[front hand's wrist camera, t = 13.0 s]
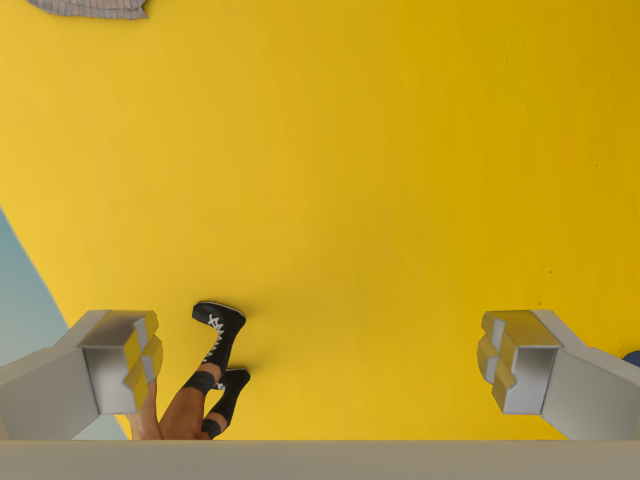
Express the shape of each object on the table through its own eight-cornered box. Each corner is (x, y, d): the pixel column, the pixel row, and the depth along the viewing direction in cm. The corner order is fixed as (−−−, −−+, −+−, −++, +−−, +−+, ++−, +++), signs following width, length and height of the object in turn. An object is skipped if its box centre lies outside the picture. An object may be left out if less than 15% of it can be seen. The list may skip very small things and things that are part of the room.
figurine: (180, 248, 43) (-69, 559, 16) (241, 247, 43) (99, 559, 16) (205, 426, 52) (75, 825, 25) (255, 426, 52) (182, 825, 25)
